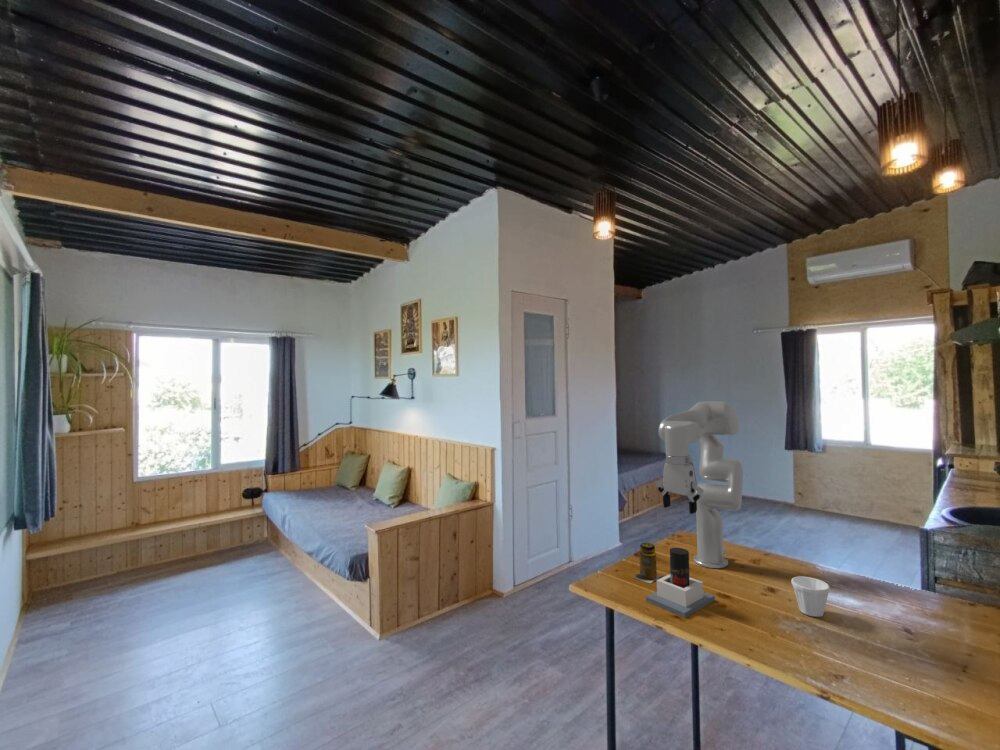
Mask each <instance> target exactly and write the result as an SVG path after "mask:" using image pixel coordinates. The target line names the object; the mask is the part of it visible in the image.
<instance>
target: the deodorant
mask: <svg viewBox="0 0 1000 750" xmlns="http://www.w3.org/2000/svg"><path fill="white" fill-rule="evenodd" d="M669 568H670V569H669V570H670V573H669V574H670V583H671V584H674V585H676V586H679V587H682V588H685V587H687V586H689V585H690V584H689V577H690V551H689V550H688V549H686V548H682V547H671V548H670V549H669Z"/></svg>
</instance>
